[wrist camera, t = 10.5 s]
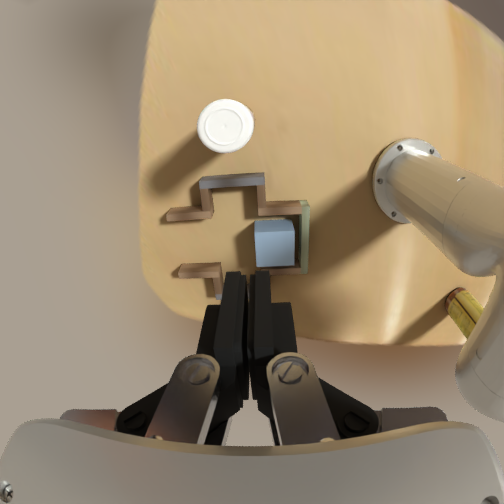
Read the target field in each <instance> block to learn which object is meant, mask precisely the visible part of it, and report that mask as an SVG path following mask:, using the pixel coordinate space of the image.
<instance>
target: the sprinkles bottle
mask: <svg viewBox="0 0 504 504" xmlns="http://www.w3.org/2000/svg"><path fill="white" fill-rule="evenodd" d="M254 126H255V116H254V114H253V112H252V110H251V109H250V108H248V107H247V106H245V105H243V104H241V103H240V102H237V101H235V100H230V99H221V100H217V101H214V102H212V103H210V104H209V105H207V106H206V107H205V108H204V109H203V110H202V112H201V113H200V115H199V118H198V121H197V132H198V136H199V138H200V140H201V141H202V143H203V144H204V145H205V146H206V147H207V148H209V149H210V150H212V151H215V152H218V153H231V152H235V151H237V150H239V149H241V148H242V147H243V146H245V145H246V143H247V142H248V141H249V140H250V138H251V136H252V133H253V130H254Z"/></svg>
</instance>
